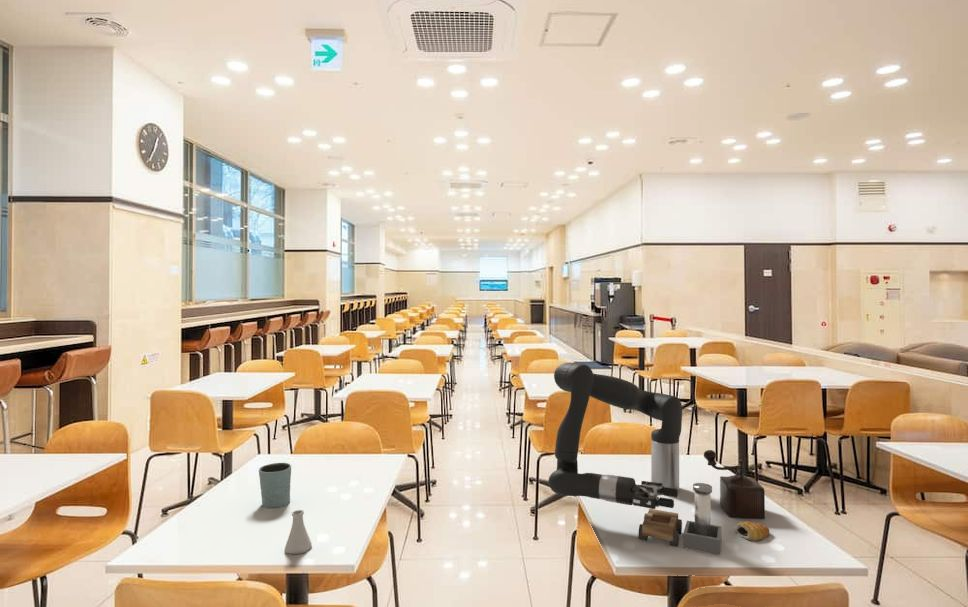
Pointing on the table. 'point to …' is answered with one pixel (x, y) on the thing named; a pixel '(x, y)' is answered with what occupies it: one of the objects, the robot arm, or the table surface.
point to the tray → (702, 539)
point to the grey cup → (275, 484)
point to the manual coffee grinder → (739, 492)
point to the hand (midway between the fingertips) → (675, 498)
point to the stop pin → (702, 509)
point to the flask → (298, 535)
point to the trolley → (661, 526)
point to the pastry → (751, 530)
